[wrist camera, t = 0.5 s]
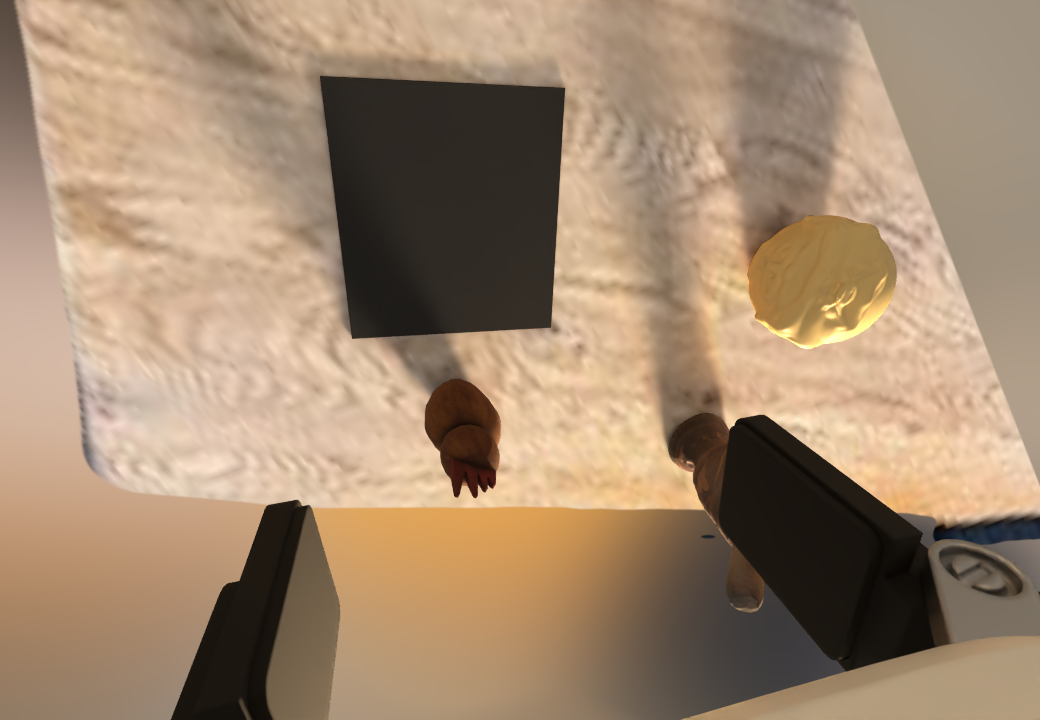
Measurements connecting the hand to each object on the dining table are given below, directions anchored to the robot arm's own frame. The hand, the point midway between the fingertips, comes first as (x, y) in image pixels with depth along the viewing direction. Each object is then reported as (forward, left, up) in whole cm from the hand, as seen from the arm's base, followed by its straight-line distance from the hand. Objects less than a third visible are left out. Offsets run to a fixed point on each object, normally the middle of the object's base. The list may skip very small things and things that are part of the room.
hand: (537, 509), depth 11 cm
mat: (0, +2, -35) cm, 35 cm away
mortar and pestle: (+26, +28, -35) cm, 51 cm away
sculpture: (+5, +35, -35) cm, 49 cm away
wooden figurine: (+17, +2, -35) cm, 38 cm away
